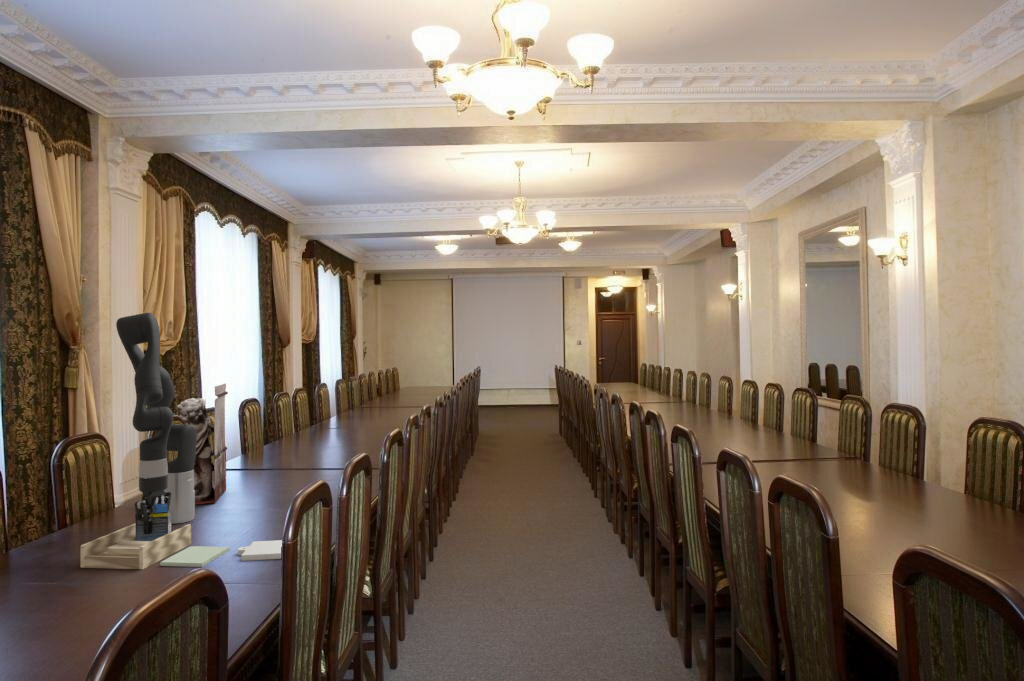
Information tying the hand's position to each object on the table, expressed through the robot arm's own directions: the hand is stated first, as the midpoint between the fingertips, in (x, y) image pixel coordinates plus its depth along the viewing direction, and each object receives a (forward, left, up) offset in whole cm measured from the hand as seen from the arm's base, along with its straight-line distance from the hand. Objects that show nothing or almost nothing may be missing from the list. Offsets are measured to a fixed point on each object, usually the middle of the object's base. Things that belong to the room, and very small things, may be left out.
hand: (153, 530), depth 190 cm
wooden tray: (+6, 0, -5) cm, 8 cm away
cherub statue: (-61, -23, -5) cm, 65 cm away
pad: (+7, +18, -5) cm, 20 cm away
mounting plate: (+1, +37, -6) cm, 37 cm away
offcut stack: (+10, 0, -6) cm, 11 cm away
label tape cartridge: (0, 0, -4) cm, 4 cm away
